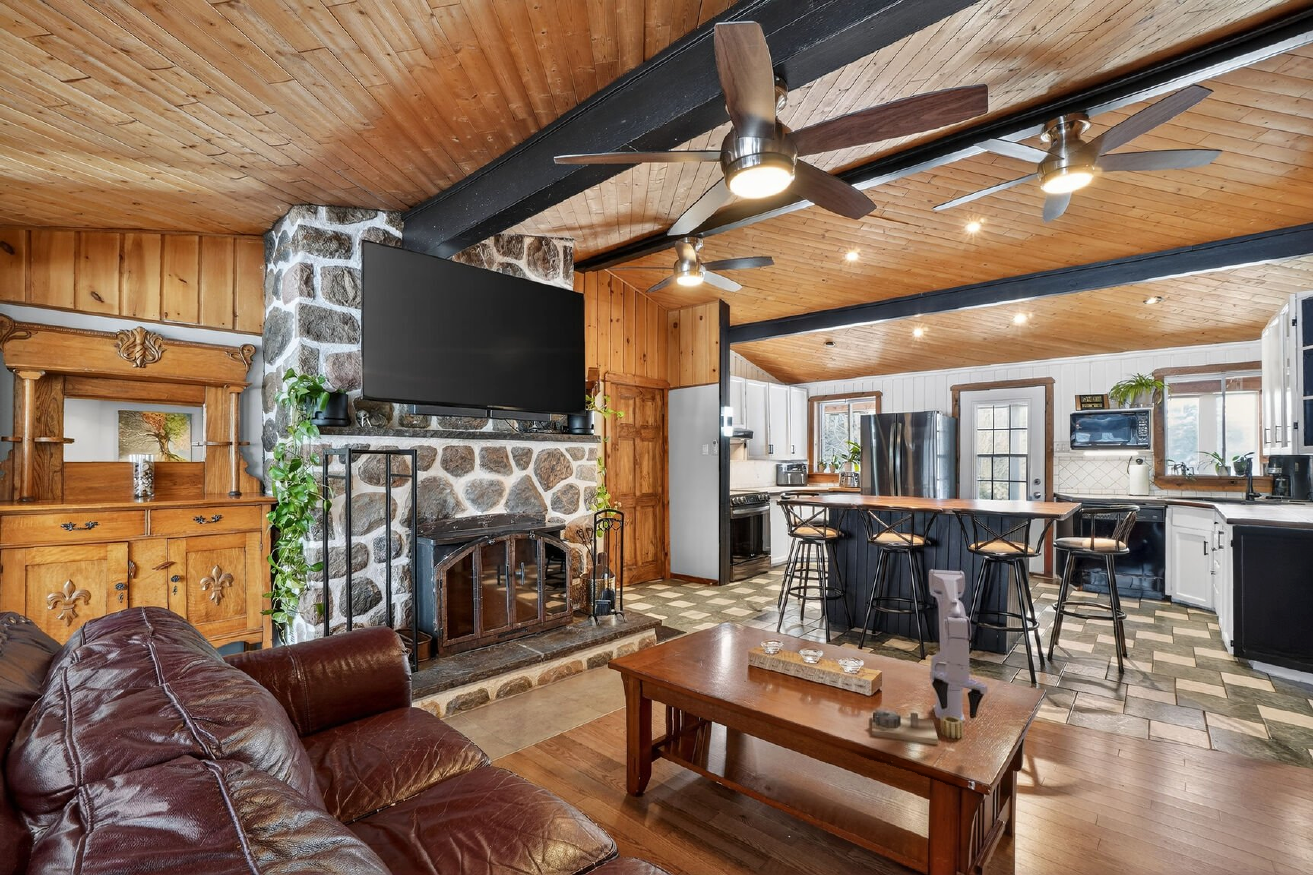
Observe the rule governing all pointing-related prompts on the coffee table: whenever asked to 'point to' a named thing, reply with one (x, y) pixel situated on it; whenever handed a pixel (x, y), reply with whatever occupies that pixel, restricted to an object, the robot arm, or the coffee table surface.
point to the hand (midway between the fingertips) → (958, 712)
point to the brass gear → (952, 726)
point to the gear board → (903, 727)
